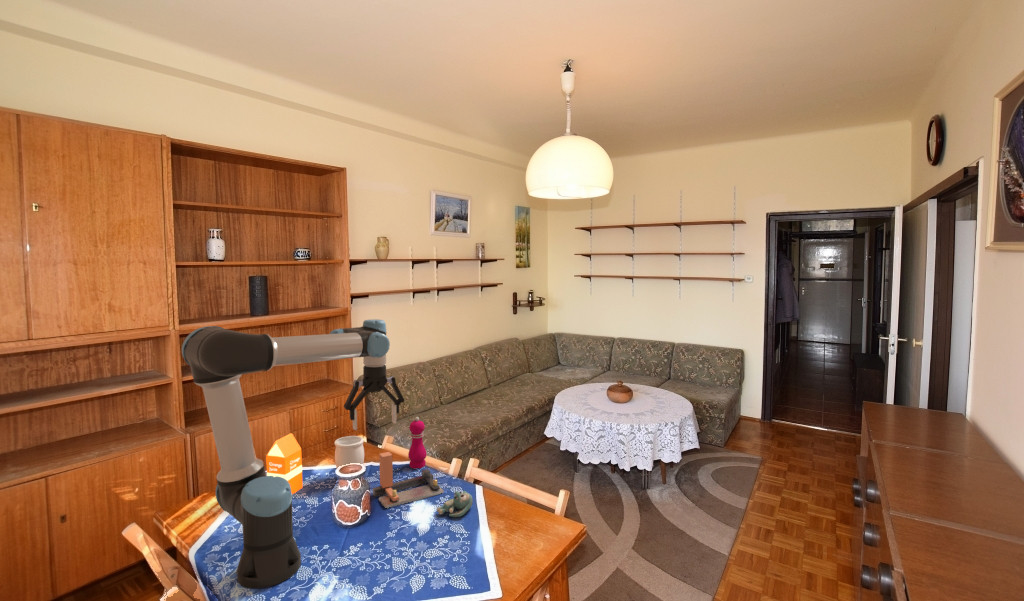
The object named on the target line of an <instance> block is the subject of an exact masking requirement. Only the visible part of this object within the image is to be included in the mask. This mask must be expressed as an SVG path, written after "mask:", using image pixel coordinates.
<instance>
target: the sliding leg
mask: <svg viewBox="0 0 1024 601" xmlns="http://www.w3.org/2000/svg"><path fill="white" fill-rule="evenodd" d="M393 464H394V463H393V454H392V453H391V452H390V451H386V452H382V453H379V485H380V486H382V488H385V492H386V493H387V494H386V495H388V496H389V497H390V498H391V499H392V501H396V500H399V497H398V495H397V493H398V491H397V490H393V489H392V488H391V487H390V486H393V483H394V476H393V474H394V472H393ZM386 487H389V488H386Z"/></svg>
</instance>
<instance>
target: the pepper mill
mask: <svg viewBox="0 0 1024 601" xmlns="http://www.w3.org/2000/svg"><path fill="white" fill-rule="evenodd" d="M425 427H426V426H425V422H423V421H422V420H420V418H419V416H416V417H414V420H413V421H412V422H410V424H409V431H410V438H411V445H410V447H409V450H408V453H407V455H408V456H407V457H408V460H409V468H411V469H416V470H417V468H419V469H422V468H423V469H424V467H425V466H426V458H427V450H426V447H425V445H424V442H423V437H424V436H425V435H424V431H425Z"/></svg>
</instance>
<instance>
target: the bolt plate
mask: <svg viewBox="0 0 1024 601" xmlns="http://www.w3.org/2000/svg"><path fill="white" fill-rule="evenodd" d="M441 493H442V494H444V489H443V488H441V486H440V485H439V488H438V489H435V490H434V489H433V488H432V487H431V486H430V485H429V484H424V485H420V486H416V487H412V488H409V489H405V490H401V491H397V495H398V497H399V500H396V501H392V499H391V498H390V497H389V496H388V494H386V495H382V496H378V502H381V503H380V504H381V506H382V507H383V506H384V507H385V508H387V509H390V508H389V507H391V508H394V507H393V506H395V507H398V506H401V505H400V504H402V505H405V504H404V503H406V504H409V503H412V501H413V502H417V501H419V500H423V499H427V498H430V497H434V496H438V495H442V494H441ZM408 502H409V503H408ZM397 505H398V506H397ZM384 507H383V508H384ZM385 508H384V509H385Z"/></svg>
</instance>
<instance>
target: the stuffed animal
mask: <svg viewBox="0 0 1024 601" xmlns="http://www.w3.org/2000/svg"><path fill="white" fill-rule="evenodd" d="M473 500H474V499H473V496H472V494H471V493H469V492H467V491H466V490H463V491H458V490H456V491H454V495H453V498H449V499H448V500H446V501H445V502H444V503H443V504H442V506H439V507H437V508H436V511H437V512H438V515H443V514H444V513H448V516H449V517H450V518H460V517H462V516H465V514H466V513H467V512H468V511H469V510H470V509H471V508H472V505H473V502H474V501H473ZM455 509H457V511H454V510H455Z"/></svg>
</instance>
